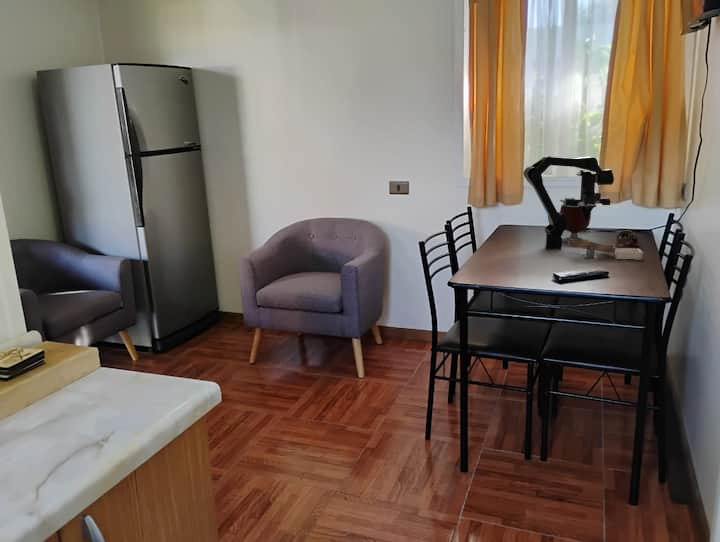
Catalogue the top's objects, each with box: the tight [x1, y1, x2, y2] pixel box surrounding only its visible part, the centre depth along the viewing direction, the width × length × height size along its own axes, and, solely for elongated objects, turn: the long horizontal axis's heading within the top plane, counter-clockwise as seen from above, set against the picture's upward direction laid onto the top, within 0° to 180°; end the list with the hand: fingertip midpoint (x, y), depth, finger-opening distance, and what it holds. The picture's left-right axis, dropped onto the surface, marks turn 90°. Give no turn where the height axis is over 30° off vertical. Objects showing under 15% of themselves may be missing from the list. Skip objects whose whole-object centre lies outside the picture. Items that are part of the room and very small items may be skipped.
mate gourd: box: [559, 199, 592, 243], centre depth 288 cm, size 16×14×20 cm
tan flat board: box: [567, 236, 616, 254], centre depth 257 cm, size 18×14×3 cm
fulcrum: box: [582, 247, 600, 260], centre depth 253 cm, size 5×8×5 cm, turn 169°
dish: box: [612, 247, 644, 261], centre depth 250 cm, size 10×7×3 cm
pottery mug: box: [615, 229, 640, 247], centre depth 274 cm, size 12×10×8 cm
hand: (585, 220), depth 271 cm, fingers closed
